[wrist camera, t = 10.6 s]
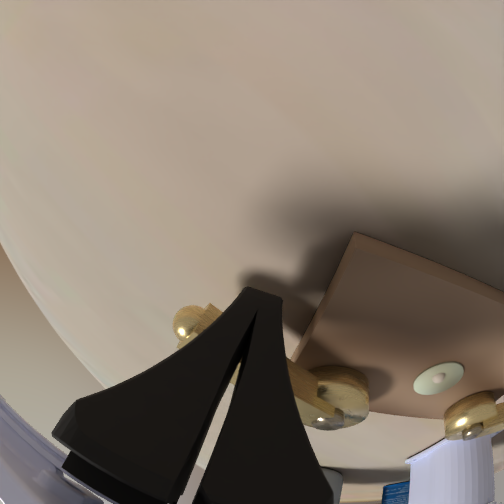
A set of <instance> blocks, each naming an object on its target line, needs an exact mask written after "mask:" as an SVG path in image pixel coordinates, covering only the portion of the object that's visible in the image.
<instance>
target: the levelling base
mask: <svg viewBox="0 0 504 504" xmlns="http://www.w3.org/2000/svg"><path fill="white" fill-rule="evenodd" d="M290 360H291V361H293V362H294V363H296V364H297V365H299V366H300V367H302V368H304V369H305V370H309V369H312V368H316V367H321V366H343V367H348V368H352V369H355V370H357V371H359V372H361V373H363V374H364V375H365V376H366V377H367V379H368V381H369V411H371V412H377V413H384V414H391V415H399V416H408V417H418V418H429V419H444V413H445V412H446V411H447V410H448V409H449V408H450V407H451V406H452V405H454V404H455V403H457V402H459V401H460V400H462V399H464V398H466V397H469V396H471V395H474V394H477V393H481V392H492V393H493V394H494V397H495V401H497V400H498V399H499V398H500V397H501V396H502V395H504V292H502V291H500V290H498V289H496V288H494V287H491V286H489V285H487V284H485V283H482V282H480V281H478V280H476V279H473V278H471V277H469V276H467V275H464V274H462V273H460V272H457V271H455V270H453V269H450V268H448V267H445V266H443V265H441V264H438V263H436V262H433V261H431V260H428V259H426V258H423V257H421V256H418V255H416V254H413V253H411V252H408V251H405V250H403V249H400V248H398V247H395V246H392V245H390V244H387V243H384V242H382V241H379V240H376V239H373V238H371V237H368V236H365V235H362V234H360V233H357V232H354V233H353V235H352V237H351V239H350V242H349V244H348V246H347V249H346V251H345V253H344V255H343V257H342V260H341V262H340V264H339V266H338V268H337V270H336V272H335V274H334V277H333V279H332V281H331V283H330V285H329V287H328V289H327V291H326V293H325V295H324V297H323V299H322V301H321V303H320V305H319V307H318V309H317V311H316V313H315V315H314V317H313V319H312V321H311V322H310V324H309V326H308V328H307V330H306V332H305V334H304V336H303V337H302V339H301V341H300V343H299V345H298V346H297V348H296V350H295V352H294V354H293V355H292V357H291V359H290Z"/></svg>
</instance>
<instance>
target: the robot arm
mask: <svg viewBox="0 0 504 504" xmlns="http://www.w3.org/2000/svg"><path fill="white" fill-rule="evenodd" d="M282 303H283V300H282V299H281V297H278V296H275V295H272V294H269V293H266V292H263V291H260V290H257V289H254V288H251V287H245V288H244V289H243V290H242V291H241V293H240V294H239V295H238V297H237V298H236V299H235V300H234V301H233V303H232V304H231V305H230V306H229V307H228V308H227V309H226V310H225V311H224V312H223V313H222V314H221V315H220V316H219V317H218V318H217V319H216V320H215V321H214V322H213V323H212V324H211V325H209V326H208V327H207V328H206V329H205V330H204V331H202V332H201V333H200V334H199V335H198V336H196V337H195V338H194V339H193V340H191V341H190V342H189V343H188V344H186V345H185V346H184V347H182V348H181V349H179V350H178V351H176V352H175V353H174V354H172V355H171V356H169V357H168V358H166V359H164V360H163V361H161V362H159V363H158V364H156V365H154V366H153V367H151V368H149V369H148V370H146V371H144V372H142V373H140V374H138V375H136V376H134V377H132V378H130V379H128V380H126V381H124V382H122V383H119V384H117V385H115V386H113V387H110V388H108V389H105V390H103V391H100V392H97V393H94V394H92V395H89V396H86V397H83V398H80V399H78V400H76V401H75V402H74V403H73V404H72V405H71V406H70V407H69V408H68V410H67V411H66V412H65V413H64V414H63V416H62V417H61V419H60V420H59V422H58V423H57V425H56V426H55V428H54V430H53V431H52V437H54V438H55V439H56V440H57V441H59V442H60V443H61V444H63V445H64V446H65V447H67V448H68V449H70V450H71V451H70V453H69V455H67V454H65V453H64V452H63V451H61V450H60V449H58V448H57V447H56V446H55V445H53V444H52V443H51V442H49V441H48V440H47V439H46V438H45V437H43V436H42V435H41V434H40V433H39V432H38V431H36V430H35V429H34V428H33V427H32V426H31V425H30V424H28V423H27V422H26V421H25V420H24V419H23V418H22V417H21V416H20V415H19V414H18V413H17V412H16V411H14V410H13V409H12V408H11V407H10V406H9V404H8V403H6V401H5V399H4V398H3V397H2V396H1V395H0V499H1V501H2V502H3V503H4V504H104V502H103V501H102V500H101V499H100V498H98V497H97V496H95V495H94V494H93V493H91V492H90V491H92V492H94V493H95V494H97V495H99V496H100V497H102V498H104V499H106V500H107V501H109V502H111V503H113V504H168V503H169V504H177V502H178V499H179V497H180V495H183V493H184V490H185V488H186V485H187V482H188V480H189V478H190V475H191V472H192V470H193V468H194V465H195V463H196V460H197V458H198V455H199V453H200V450H201V448H202V445H203V443H204V440H205V437H206V435H207V432H208V430H209V427H210V425H211V422H212V420H213V417H214V415H215V412H216V410H217V407H218V405H219V403H220V401H221V399H222V397H223V395H224V393H225V391H226V389H227V387H228V385H229V383H230V381H231V379H232V377H233V375H234V373H235V370H236V368H237V366H238V364H239V362H240V360H241V358H242V360H241V364H240V368H239V371H238V375H237V379H236V383H235V387H234V391H233V395H232V399H231V403H230V406H229V409H228V413H227V416H226V418H225V421H224V424H223V426H222V429H221V432H220V434H219V437H218V439H217V442H216V445H215V447H214V450H213V452H212V455H211V457H210V460H209V463H208V465H207V468H206V470H205V473H204V476H203V478H202V480H201V483H200V485H199V488H198V490H197V492H196V495H195V497H194V500H193V502H192V504H334V492H333V490H332V488H331V486H330V484H329V482H328V480H327V479H326V477H325V475H324V473H323V471H322V469H321V467H320V465H319V462H318V460H317V458H316V456H315V453H314V451H313V449H312V447H311V444H310V441H309V439H308V436H307V433H306V431H305V428H304V425H303V423H302V420H301V417H300V414H299V411H298V407H297V404H296V401H295V397H294V393H293V389H292V385H291V381H290V376H289V371H288V366H287V360H286V354H285V346H284V338H283V327H282ZM501 431H502V430H501ZM501 431H498V432H495V433H492V434H488V435H485V436H482V437H478V438H474V439H471V440H467V441H463V439H461V440H454V441H451V440H447V439H446V438H445V439H444V440H442V441H440V442H438V443H437V444H435V445H433V446H432V447H430V448H428V449H426V450H424V451H422V452H421V453H419V454H417V455H415V456H413V457H411V458H409V459H407V460H405V463H406V464H411V470H410V489H409V501H408V504H488V503H490V502H492V501H494V464H493V452H492V443H491V438H492V437H494V436H495V435H497V434H498V433H500V432H501ZM63 472H64V473H65V474H67V475H68V476H69V477H71V478H72V479H74V480H75V481H77V482H78V483H80V484H81V485H83V486H84V487H86V488H87V489H89V490H90V491H89V490H87V489H85V488H84V487H82V486H81V485H79V484H77V483H75V482H73V481H71V480H69V479H67V478H65V477H64V476H63ZM490 504H496V502H493V503H490ZM498 504H502V503H498Z"/></svg>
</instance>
